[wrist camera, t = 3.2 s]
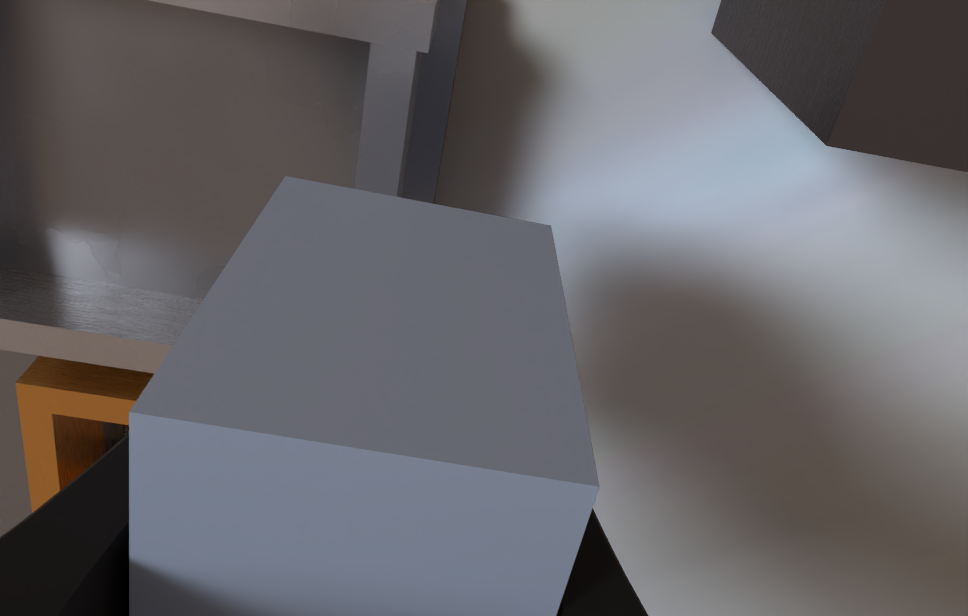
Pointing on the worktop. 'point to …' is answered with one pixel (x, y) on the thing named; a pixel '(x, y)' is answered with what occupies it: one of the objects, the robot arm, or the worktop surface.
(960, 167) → the charcoal grey cuboid
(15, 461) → the bin
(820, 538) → the worktop surface
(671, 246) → the worktop surface
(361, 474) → the pale blue block
